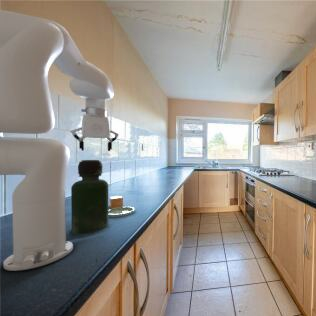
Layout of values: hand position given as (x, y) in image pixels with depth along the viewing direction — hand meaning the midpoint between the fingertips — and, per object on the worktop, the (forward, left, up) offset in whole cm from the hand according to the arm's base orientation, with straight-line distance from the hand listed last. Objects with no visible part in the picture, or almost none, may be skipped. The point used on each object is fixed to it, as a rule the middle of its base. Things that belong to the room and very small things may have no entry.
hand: (96, 150), depth 84 cm
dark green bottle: (-22, +3, -28) cm, 36 cm away
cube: (+2, -8, -28) cm, 29 cm away
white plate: (-10, -8, -28) cm, 31 cm away
